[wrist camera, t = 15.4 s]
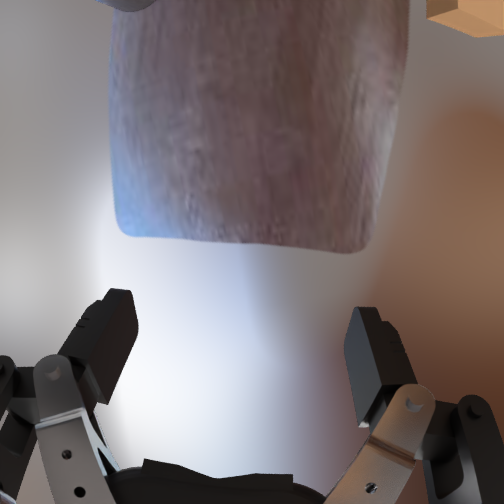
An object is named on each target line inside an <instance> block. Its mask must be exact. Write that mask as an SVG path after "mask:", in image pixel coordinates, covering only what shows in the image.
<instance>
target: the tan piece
mask: <svg viewBox="0 0 504 504" xmlns="http://www.w3.org/2000/svg"><path fill="white" fill-rule="evenodd" d="M426 1H427V19H429V20H432V21H435V22H438V23H440V24H443V25H446V26H449V27H451V28H454V29H456V30H459V31H461V32H464V33H466V34H469V35H471V36H473V37H476V38H477V37H487V36H498V35H504V0H426Z"/></svg>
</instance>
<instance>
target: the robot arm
mask: <svg viewBox="0 0 504 504" xmlns="http://www.w3.org/2000/svg"><path fill="white" fill-rule="evenodd" d="M96 1H98V2H101V3H104V4H106V5H109V6H111V7H114V8H116V9H119V10H121V11H125V12H134V11H139V10H141V9H144V8H146V7H148V6H149V5H151V4H152V3H153V2H154V1H156V0H96ZM137 335H138V319H137V315H136V310H135V305H134V300H133V295H132V292H131V291H130V290H123V289H114V288H111V289H110V290H109V291H108V292H107V294H106V295H105V296H104V298H103V300H102V301H101V300H97V301H96V302H94V303H93V304H92V305H90V306H89V307H88V308H87V309H86V310H85V312H84V313H83V315H82V316H81V319H79V321H78V322H77V324H76V327H74V328H73V330H72V331H71V333H70V335H69V336H68V338H67V339H66V341H65V342H64V344H63V346H62V347H61V349H60V350H59V352H58V354H55V355H49V356H46V357H44V358H42V359H41V360H40V361H39V362H38V363H37V364H36V366H35V367H16V365H15V363H14V362H13V360H12V359H11V358H10V357H8V356H4V355H1V356H0V421H1V418H2V416H3V414H4V412H5V410H7V411H8V412H9V413H8V415H7V417H6V420H5V422H4V424H3V426H2V428H1V430H0V504H17V503H16V499H17V495H18V492H19V489H20V486H21V483H22V480H23V477H24V474H25V471H26V468H27V465H28V463H29V460H30V457H31V455H32V452H33V449H34V446H35V444H36V441H37V439H38V444H39V448H40V452H41V456H42V460H43V464H44V468H45V471H46V475H47V479H48V482H49V485H50V488H51V492H52V495H53V498H54V501H55V504H395V502H396V500H397V498H398V497H399V495H400V493H401V491H402V489H403V488H404V486H405V484H406V482H407V480H408V478H409V476H410V474H411V472H412V470H413V468H414V466H415V463H416V460H414V459H421V460H422V463H423V469H424V475H425V481H426V487H427V494H428V501H429V504H504V444H503V441H502V438H501V435H500V432H499V429H498V426H497V424H496V421H495V418H494V415H493V413H492V410H491V408H490V406H489V404H488V403H487V402H486V401H485V400H484V399H483V398H481V397H479V396H477V395H466V396H464V397H463V398H462V399H461V400H460V401H459V403H458V404H454V403H448V402H442V401H437V400H435V399H434V397H433V395H432V394H431V393H430V391H429V390H428V389H426V388H425V387H423V386H421V385H418V383H417V380H416V377H415V375H414V372H413V369H412V367H411V364H410V362H409V359H408V356H407V354H406V353H405V349H404V346H403V344H402V341H401V339H400V336H399V334H398V331H397V330H396V329H395V328H394V327H393V326H392V325H391V324H390V323H389V322H388V321H381V318H380V315H379V313H378V310H377V308H376V307H355V308H354V310H353V313H352V317H351V320H350V323H349V327H348V330H347V333H346V337H345V341H344V355H345V360H346V365H347V370H348V374H349V379H350V384H351V389H352V395H353V400H354V405H355V411H356V416H357V422H358V427H369V429H370V435H369V436H368V438H367V440H366V441H365V443H364V444H363V446H362V447H361V449H360V450H359V452H358V453H357V455H356V456H355V458H354V459H353V461H352V462H351V464H350V465H349V466H348V468H347V469H346V470H345V472H344V473H343V475H342V476H341V477H340V479H339V480H338V481H337V483H336V484H335V485H334V486H333V488H332V489H331V490H330V492H329V493H328V494H327V495H326V497H325V496H323V495H322V494H320V493H319V492H317V491H315V490H313V489H311V488H309V487H307V486H304V485H301V484H297V483H293V474H258V473H255V474H248V475H242V476H235V477H227V478H212V477H209V476H206V475H204V474H201V473H198V472H195V471H193V470H190V469H188V468H185V467H183V466H180V465H176V464H170V463H165V462H159V461H154V460H149V459H144V462H143V465H142V467H132V468H127V469H122V470H120V468H119V466H118V464H117V463H116V461H115V459H114V457H113V456H112V453H111V451H110V449H109V446H108V444H107V441H106V439H105V436H104V434H103V431H102V429H101V426H100V423H99V421H98V418H97V415H96V412H95V410H94V408H95V406H96V404H97V402H98V403H103V404H106V405H108V403H109V401H110V399H111V396H112V394H113V391H114V389H115V387H116V384H117V382H118V379H119V377H120V375H121V372H122V370H123V368H124V365H125V363H126V361H127V359H128V356H129V354H130V352H131V350H132V347H133V345H134V343H135V341H136V338H137Z"/></svg>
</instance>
